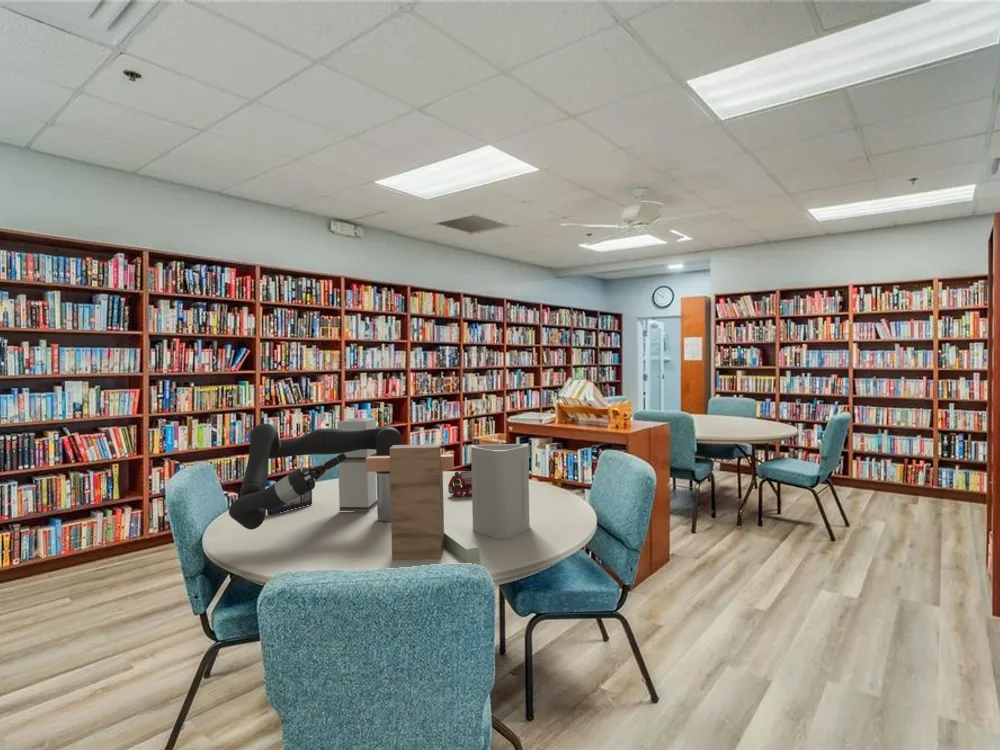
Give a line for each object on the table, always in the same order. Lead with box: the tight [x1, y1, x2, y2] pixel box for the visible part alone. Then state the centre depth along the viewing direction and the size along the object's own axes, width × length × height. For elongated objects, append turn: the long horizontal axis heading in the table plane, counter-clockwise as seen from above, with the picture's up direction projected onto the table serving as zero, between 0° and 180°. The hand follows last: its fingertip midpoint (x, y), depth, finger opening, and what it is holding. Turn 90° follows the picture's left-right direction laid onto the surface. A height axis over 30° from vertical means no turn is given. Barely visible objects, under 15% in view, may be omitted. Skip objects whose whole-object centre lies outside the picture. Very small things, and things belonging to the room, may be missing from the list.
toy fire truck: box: [447, 470, 472, 498], centre depth 230 cm, size 7×12×10 cm, turn 105°
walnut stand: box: [390, 443, 445, 561], centre depth 160 cm, size 12×14×32 cm
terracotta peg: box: [366, 453, 455, 473], centre depth 163 cm, size 4×26×4 cm, turn 91°
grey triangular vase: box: [470, 443, 530, 540], centre depth 178 cm, size 19×15×28 cm
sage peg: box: [444, 528, 481, 563], centre depth 161 cm, size 20×4×4 cm, turn 27°
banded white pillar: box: [336, 417, 377, 513], centre depth 211 cm, size 11×11×35 cm
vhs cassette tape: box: [266, 489, 313, 516], centre depth 212 cm, size 18×3×10 cm, turn 143°
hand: (341, 457), depth 163 cm, fingers open, 8 cm apart
